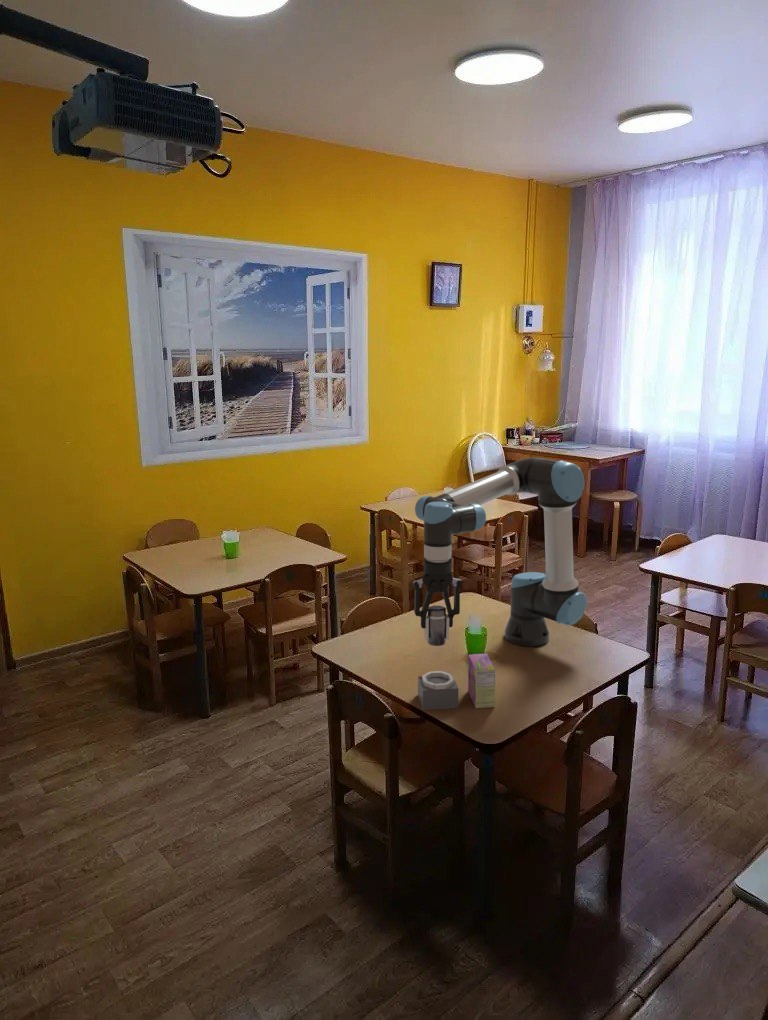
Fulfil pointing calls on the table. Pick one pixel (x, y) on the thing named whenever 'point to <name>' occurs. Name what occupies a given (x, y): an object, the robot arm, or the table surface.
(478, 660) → the box
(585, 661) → the table surface
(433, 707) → the grey holed block
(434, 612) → the clear grey cylinder
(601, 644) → the table surface
